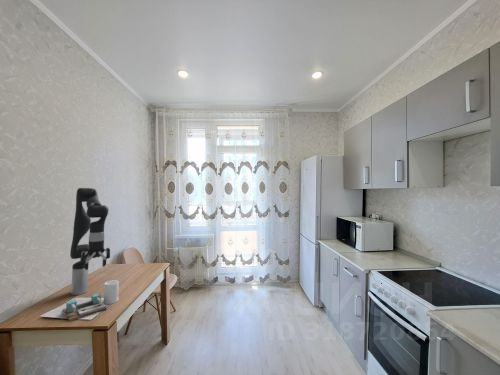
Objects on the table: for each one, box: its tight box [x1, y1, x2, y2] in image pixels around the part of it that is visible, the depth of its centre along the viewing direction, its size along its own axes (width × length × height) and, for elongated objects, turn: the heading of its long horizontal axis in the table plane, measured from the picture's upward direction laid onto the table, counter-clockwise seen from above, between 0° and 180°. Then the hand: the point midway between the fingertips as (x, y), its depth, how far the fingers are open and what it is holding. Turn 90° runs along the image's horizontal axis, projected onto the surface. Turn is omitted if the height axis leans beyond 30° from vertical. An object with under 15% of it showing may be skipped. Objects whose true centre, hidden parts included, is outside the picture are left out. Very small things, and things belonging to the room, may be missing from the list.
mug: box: [102, 279, 120, 305], centre depth 153 cm, size 12×8×12 cm
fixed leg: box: [90, 292, 102, 305], centre depth 144 cm, size 10×4×5 cm, turn 49°
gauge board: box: [62, 300, 107, 323], centre depth 138 cm, size 16×18×3 cm
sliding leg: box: [65, 299, 78, 313], centre depth 134 cm, size 10×4×5 cm, turn 49°
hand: (95, 267), depth 135 cm, fingers open, 8 cm apart
